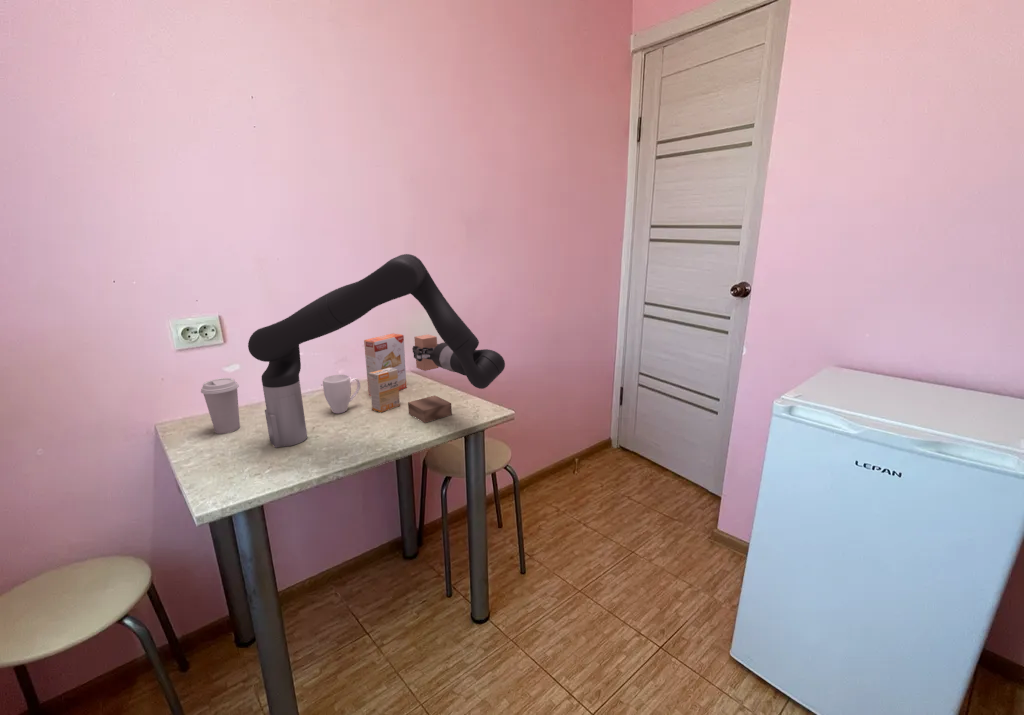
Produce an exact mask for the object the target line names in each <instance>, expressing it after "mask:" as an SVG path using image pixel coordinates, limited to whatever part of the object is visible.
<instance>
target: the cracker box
mask: <svg viewBox="0 0 1024 715" xmlns="http://www.w3.org/2000/svg"><path fill="white" fill-rule="evenodd" d="M404 339H405V335H404V334H400V333H394V332H393V333H390V334H386V335H380V336H375V337H372V338H367V339H364V340H363V343H364V344H363V345H364V355H365V356H364V358H365V366H366V369H365V370H366V378H367V379H366V380H367V389H368V390H367V391H368V396H369V397H371V389H370V378H369V373H370V372H374V371H378V370H382V369H386V368H394V369H397V372H398V386H399V391H401V389H402V390H404V388H405V389H406V388H408V387H407V385H408V384H407V373H406V369H407V368H406V356H405V353H406V352H405V340H404Z"/></svg>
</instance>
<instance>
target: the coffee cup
mask: <svg viewBox="0 0 1024 715" xmlns="http://www.w3.org/2000/svg"><path fill="white" fill-rule="evenodd" d="M239 387H240V386H239V384H238V382H236V380H235V379H234V378H231V377H224V378H223V377H221V378H215V379H211V380H208V381H206V382H204V383H203V384H202V387H201V388H200V393H201V394H203V396H204V401H205V403H206V407H207V409H208V413H209V416H210V419H211V423H212V426H213V430H214V433H215V434H218V435H219V434H220V435H221V434H229V433H232V432H235V431H237V430H239V429H240V427H241V424H240V423H241V422H240V411H239V410H240V409H239V396H238V394H239V393H238V388H239Z"/></svg>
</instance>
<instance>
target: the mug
mask: <svg viewBox="0 0 1024 715" xmlns="http://www.w3.org/2000/svg"><path fill="white" fill-rule="evenodd" d="M354 381H356V385H357V386H356V389H355V391H354V392H353V393H352V383H353V382H354ZM322 387H323V395H324V398H325V400H326V402H327V404H328V406H329V407H330V409H331V411H332V413H334V414H343V413H346V412H347V410H348V408H349V403H351V402H352V400H353V399H354V398H355V397H356V395H358V393H359V391H360V389H361V381H360V380H359V378H356V377H353V378H350V376H349V375H347V374H334V375H329V376H326V377H324V378H323V379H322ZM351 394H352V395H351ZM345 411H346V412H345Z"/></svg>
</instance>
